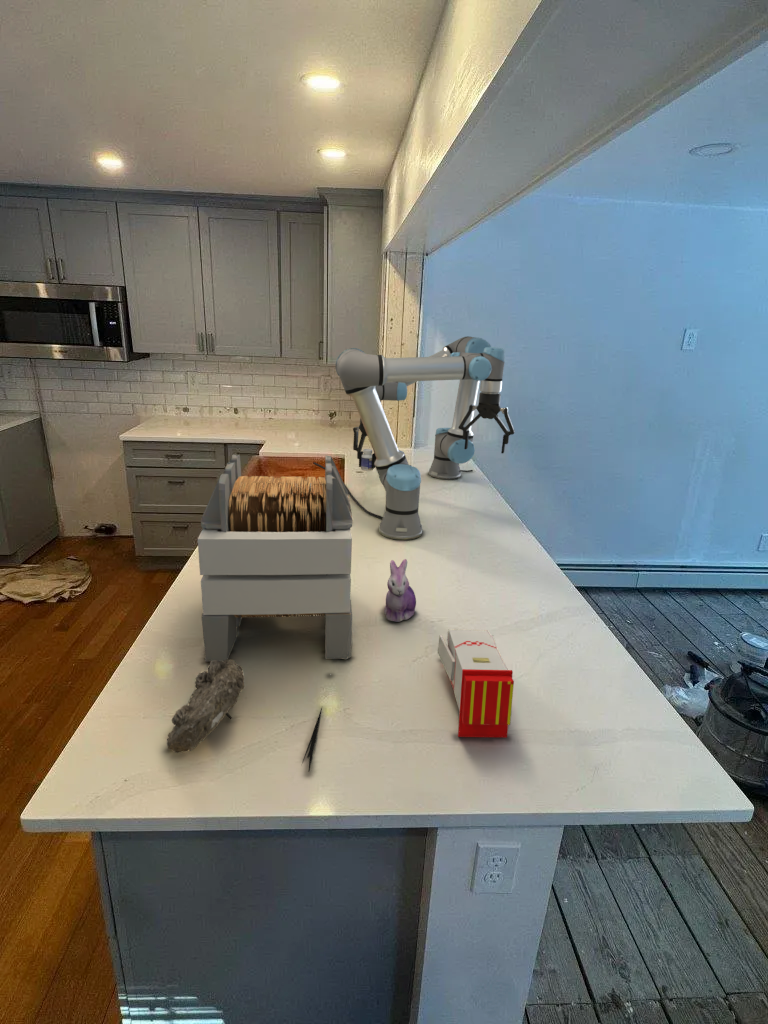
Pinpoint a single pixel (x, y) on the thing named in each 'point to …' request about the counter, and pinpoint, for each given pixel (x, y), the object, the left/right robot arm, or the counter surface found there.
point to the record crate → (276, 555)
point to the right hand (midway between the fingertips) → (367, 467)
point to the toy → (478, 682)
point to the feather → (313, 740)
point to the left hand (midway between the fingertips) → (484, 450)
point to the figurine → (399, 594)
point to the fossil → (206, 705)
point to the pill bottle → (366, 460)
